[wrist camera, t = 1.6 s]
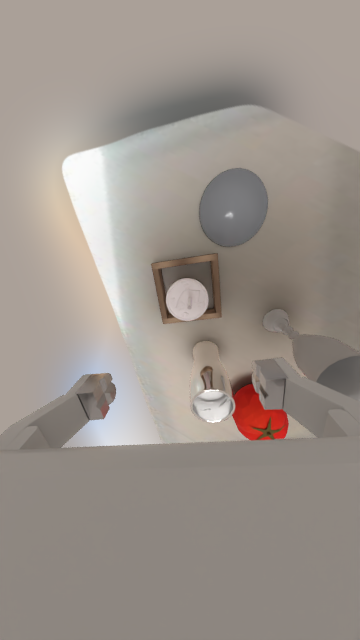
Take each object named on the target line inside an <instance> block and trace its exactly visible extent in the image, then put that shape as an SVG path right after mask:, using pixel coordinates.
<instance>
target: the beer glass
mask: <svg viewBox="0 0 360 640" xmlns="http://www.w3.org/2000/svg"><path fill="white" fill-rule="evenodd" d="M192 356H193V359H194V364H193V368H192V371H191V376H190V385H189V387H190V402H191V411H192V413H193V414H194V415H195V416H196V417H197V418H198V419H200V420H202V421H205V422H211V423H216V422H221V421H224V420H226V419H228V418H229V417H230V416H231V415H232V414H233V413H234V411H235V401H234V396H233V391H232V386H231V383H230V380H229V377H228V374H227V372H226V370H225V368H224V367H223V365H222V363H221V362H220V360H219V349H218V347H217V346H216V344H214V343H213V342H211V341H200V342H198V343H197V344H196V345H195V346H194V347H193V350H192Z"/></svg>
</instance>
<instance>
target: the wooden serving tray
mask: <svg viewBox="0 0 360 640" xmlns="http://www.w3.org/2000/svg"><path fill="white" fill-rule="evenodd" d="M206 261H210V262H211V275H212V288H213V300H214V308H213V309H206V311H205V312H204V314H203V315H201V316H200V317H199V318H197V319H195V320H203V319H212V318H220V317H222V314H221V298H220V283H219V267H218V253H215V254H209V255H202V256H196V257H190V258H183V259H177V260H170V261H164V262H157V263H152V264H151V265H152V270H153V275H154V281H155V286H156V291H157V296H158V301H159V306H160V311H161V316H162V321H163V324H167V323H176V322H185V321H183V320H180V319H177V318H176V317H174V316H173V315H172V314H171V313H170V314H169V311H168V308H167V305H166V294H165V288H164V283H163V277H162V272H161V268H166V267H173V266H180V265H186V264H193V263H200V262H206ZM191 321H194V320H191Z"/></svg>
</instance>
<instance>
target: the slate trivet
mask: <svg viewBox="0 0 360 640" xmlns="http://www.w3.org/2000/svg"><path fill="white" fill-rule="evenodd" d="M267 208H268V197H267V192H266V189H265V186H264V184H263V182H262V181H261V179H260V178H259V177H258V176H257V175H256V174H254V173H253V172H251V171H249V170H246V169H242V168H235V169H230V170H227V171H224V172H222V173H221V174H219V175H218V176H216V177H215V178H214V179H213V180H212V181H211V182H210V184H209V185H208V186H207V188H206V190H205V191H204V194H203V196H202V199H201V203H200V211H199V215H200V222H201V226H202V228H203V231H204V232H205V234H206V235H207V237H208V238H209V239H210V240H211V241H213V242H214V243H216V244H218V245H221V246H228V247H230V246H237V245H240V244H243V243H244V242H246V241H248V240H249V239H251V238H252V237H253V236H254V235H255V234H256V233H257V232H258V230H259V229H260V227H261V226H262V224H263V222H264V220H265V217H266V213H267Z"/></svg>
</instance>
